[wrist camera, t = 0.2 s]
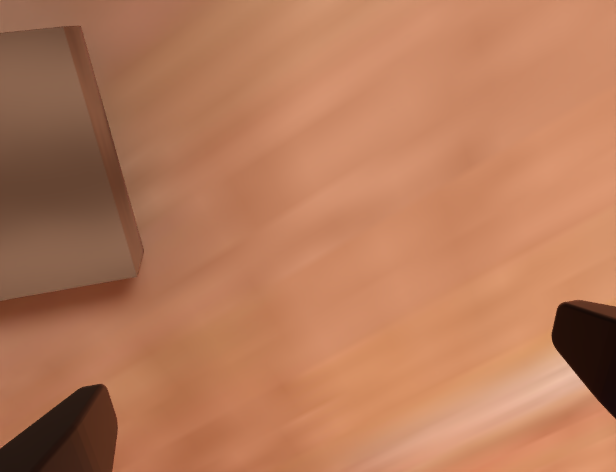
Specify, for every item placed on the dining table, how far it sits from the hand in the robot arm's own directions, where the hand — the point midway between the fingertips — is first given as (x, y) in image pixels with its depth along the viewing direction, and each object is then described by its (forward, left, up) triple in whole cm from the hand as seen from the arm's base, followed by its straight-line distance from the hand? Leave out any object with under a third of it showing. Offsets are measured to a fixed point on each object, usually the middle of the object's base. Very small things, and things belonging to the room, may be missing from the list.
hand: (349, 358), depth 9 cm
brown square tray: (-1, -11, -15) cm, 19 cm away
